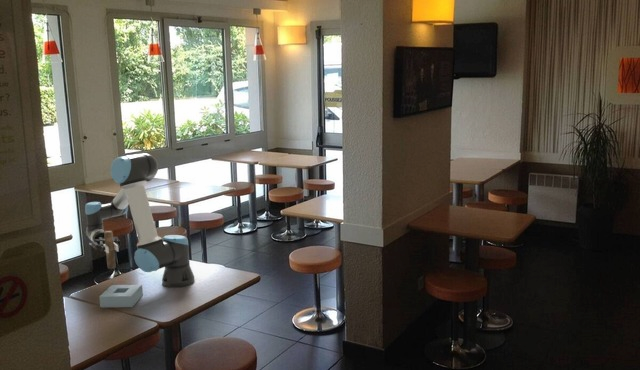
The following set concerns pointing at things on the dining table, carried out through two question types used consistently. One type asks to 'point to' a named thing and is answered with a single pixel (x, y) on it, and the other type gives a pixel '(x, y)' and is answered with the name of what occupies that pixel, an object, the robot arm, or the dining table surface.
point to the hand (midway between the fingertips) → (112, 249)
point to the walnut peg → (110, 249)
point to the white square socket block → (121, 296)
